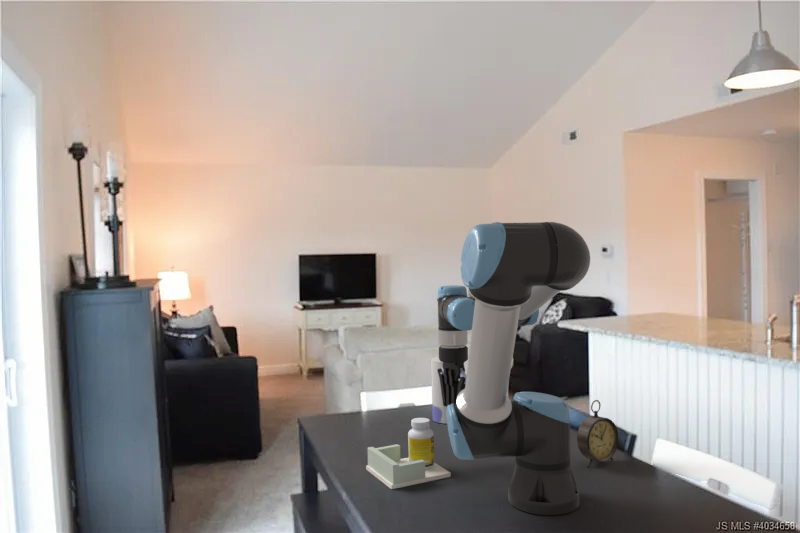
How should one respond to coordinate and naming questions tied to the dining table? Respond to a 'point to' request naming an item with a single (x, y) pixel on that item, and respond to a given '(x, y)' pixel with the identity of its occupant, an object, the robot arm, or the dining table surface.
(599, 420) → the alarm clock
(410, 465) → the dock
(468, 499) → the dining table surface
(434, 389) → the container
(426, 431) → the pill bottle
